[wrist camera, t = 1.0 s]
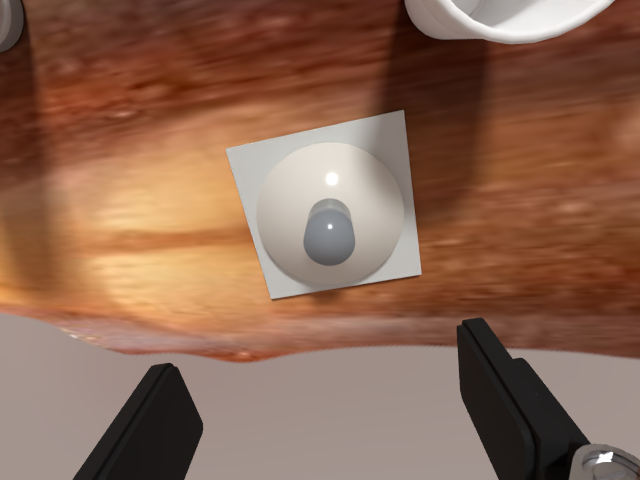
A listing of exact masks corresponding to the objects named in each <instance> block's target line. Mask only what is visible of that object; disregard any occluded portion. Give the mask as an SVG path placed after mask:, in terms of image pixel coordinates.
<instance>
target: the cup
mask: <svg viewBox="0 0 640 480" xmlns="http://www.w3.org/2000/svg"><path fill="white" fill-rule="evenodd" d="M613 1H615V0H405V6H406V9H407V12H408V15H409V17H410V19H411V20H412V22H413V23H414V25H415V26H416V27H417V28H418V29H419V30H420V31H421V32H423V33H424V34H425V35H428V36H430V37H432V38H436V39H442V40H443V39H485V40H488V41H494V42H499V43H505V44H523V43H535V42H538V41H542V40H546V39H550V38H553V37H557V36H559V35H562V34H564V33H566V32H568V31H570V30H572V29H574V28H576V27H578V26H580V25H582V24H584V23H586V22H587V21H588V20H590V19H591V18H593V17H594V16H596V15H597V14H598V13H600V12H601V11H603V10H604V9H606V8H607V7H608V6H609V5H610V4H611V3H612V2H613Z"/></svg>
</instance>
